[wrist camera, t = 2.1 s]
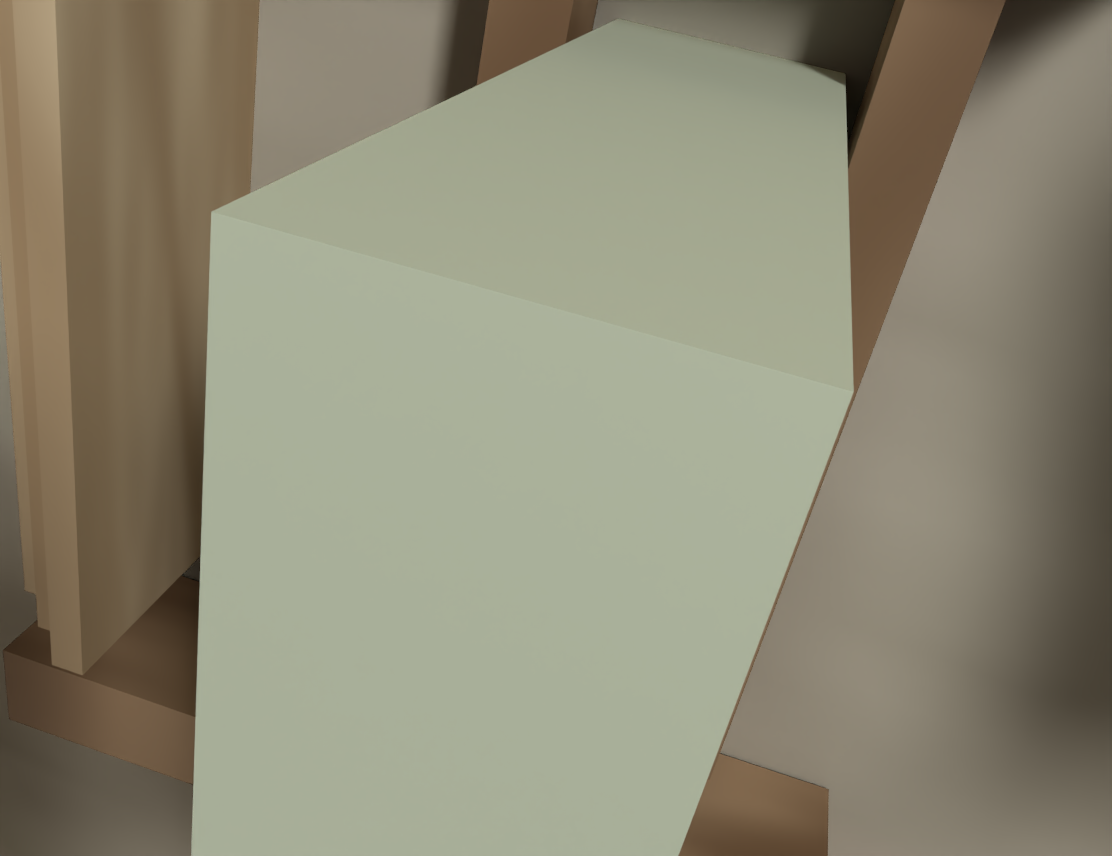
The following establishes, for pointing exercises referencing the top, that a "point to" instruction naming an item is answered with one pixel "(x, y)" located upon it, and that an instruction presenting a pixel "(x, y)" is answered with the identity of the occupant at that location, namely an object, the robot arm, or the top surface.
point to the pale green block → (515, 453)
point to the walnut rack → (876, 267)
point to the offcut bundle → (114, 288)
